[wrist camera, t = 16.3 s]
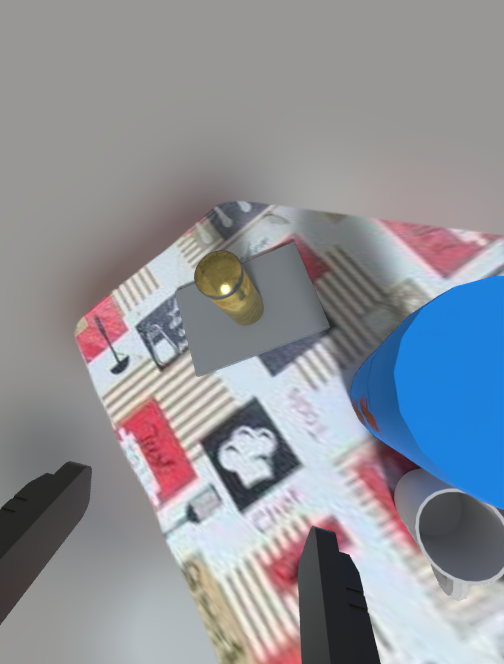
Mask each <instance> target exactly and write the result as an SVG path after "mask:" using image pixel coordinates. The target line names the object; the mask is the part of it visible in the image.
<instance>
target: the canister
mask: <svg viewBox="0 0 504 664" xmlns="http://www.w3.org/2000/svg"><path fill="white" fill-rule="evenodd" d="M194 280H195V284H196V286H197V288H198V290H199V291H200V292H201V293H202V294H204V295H205V296H206V297H208V298H209V299H210V300H211V301H213V302H214V303H215V304H216V305H217V306H218V307H219V308H220V309H221V310H222V311H224V312H225V313H226V314H227V315H228V316H229V317H230V318H231V319H232V320H234V321H235V322H236V323H238V324H240V325H251V324H253V323H255V322H257V321H258V320H259V319H260V317H261V316H262V314H263V311H264V303H263V300H262V299H261V297H260V295H259V294H258V292H257V290H256V289H255V287H254V285H253V284H252V282H251V281H250V279H249V277H248V276H247V274H246V272H245V271H244V269H243V266H242V264H241V263H240V261H239V259H238V258H237V257H236V256H235V255H234V254H233V253H231V252H228V251H222V250H220V251H214V252H212V253H209V254H208V255H206V256H205V257H204V258H203V259H202V260H201V261H200V262H199V264H198V265H197V267H196V270H195V274H194Z"/></svg>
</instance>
